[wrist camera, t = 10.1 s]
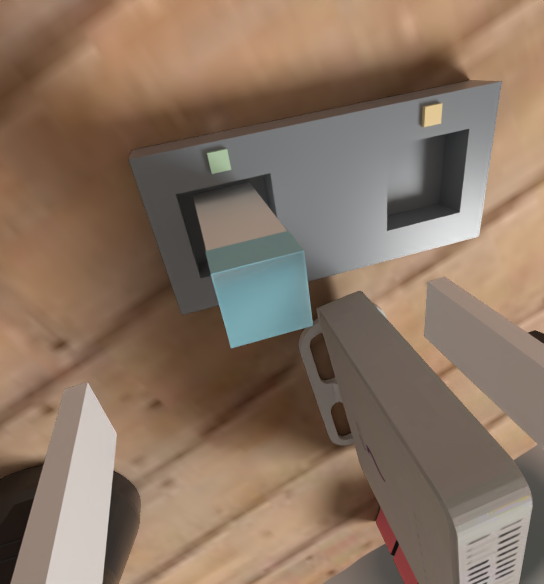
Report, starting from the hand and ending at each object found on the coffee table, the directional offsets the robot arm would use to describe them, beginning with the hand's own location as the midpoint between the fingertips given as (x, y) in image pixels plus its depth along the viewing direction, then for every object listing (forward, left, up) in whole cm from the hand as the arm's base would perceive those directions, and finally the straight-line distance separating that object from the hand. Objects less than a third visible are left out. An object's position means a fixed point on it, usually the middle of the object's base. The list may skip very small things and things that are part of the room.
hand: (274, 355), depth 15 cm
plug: (0, 0, -15) cm, 15 cm away
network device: (+9, -20, -16) cm, 28 cm away
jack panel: (+7, 0, -16) cm, 18 cm away
